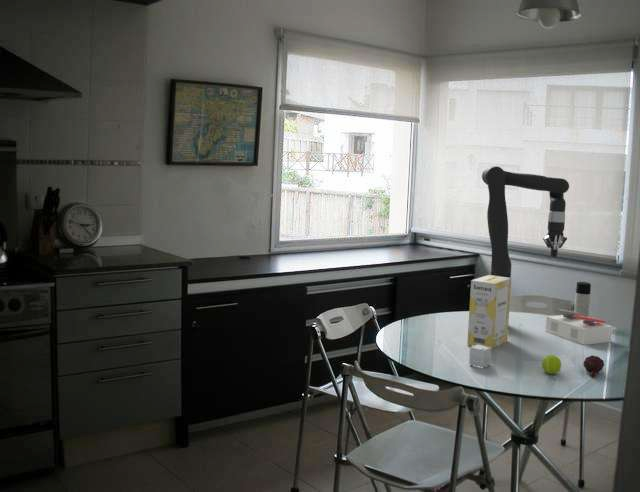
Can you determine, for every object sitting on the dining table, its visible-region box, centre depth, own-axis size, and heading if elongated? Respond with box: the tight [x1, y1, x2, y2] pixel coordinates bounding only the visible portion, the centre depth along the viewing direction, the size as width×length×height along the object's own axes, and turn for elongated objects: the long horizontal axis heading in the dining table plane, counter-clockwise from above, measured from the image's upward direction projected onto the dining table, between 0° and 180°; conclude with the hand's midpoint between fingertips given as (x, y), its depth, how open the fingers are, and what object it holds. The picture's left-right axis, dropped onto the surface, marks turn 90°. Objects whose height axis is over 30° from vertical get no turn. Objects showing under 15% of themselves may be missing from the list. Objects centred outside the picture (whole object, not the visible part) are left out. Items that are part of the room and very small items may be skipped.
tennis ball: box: [541, 354, 562, 375], centre depth 271 cm, size 7×7×7 cm
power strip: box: [545, 313, 614, 346], centre depth 326 cm, size 16×24×8 cm
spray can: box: [573, 281, 592, 317], centre depth 351 cm, size 7×7×20 cm
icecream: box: [582, 354, 605, 378], centre depth 273 cm, size 7×7×15 cm
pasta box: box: [466, 274, 512, 350], centre depth 309 cm, size 18×10×28 cm, turn 144°
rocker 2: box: [573, 314, 606, 324], centre depth 320 cm, size 14×5×2 cm, turn 114°
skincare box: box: [468, 344, 492, 368], centre depth 278 cm, size 6×6×7 cm
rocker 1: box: [553, 307, 585, 316], centre depth 331 cm, size 14×5×2 cm, turn 114°
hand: (553, 257), depth 343 cm, fingers closed
